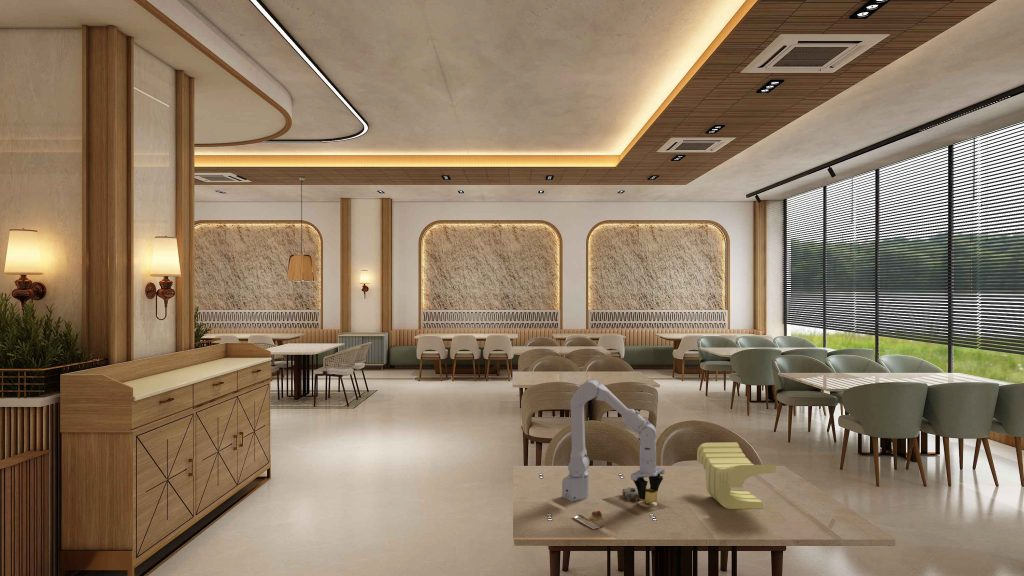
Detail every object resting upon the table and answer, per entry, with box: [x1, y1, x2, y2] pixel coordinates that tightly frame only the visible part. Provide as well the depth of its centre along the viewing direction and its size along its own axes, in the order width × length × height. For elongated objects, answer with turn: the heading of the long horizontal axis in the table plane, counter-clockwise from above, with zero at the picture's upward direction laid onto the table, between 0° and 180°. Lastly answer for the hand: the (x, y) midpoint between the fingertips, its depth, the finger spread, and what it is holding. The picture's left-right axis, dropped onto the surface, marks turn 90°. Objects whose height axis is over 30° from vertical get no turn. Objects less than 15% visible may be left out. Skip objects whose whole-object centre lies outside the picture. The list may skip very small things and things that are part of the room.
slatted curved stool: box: [696, 441, 777, 510], centre depth 217 cm, size 30×16×18 cm, turn 3°
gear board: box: [601, 487, 669, 516], centre depth 213 cm, size 15×18×5 cm
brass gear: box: [639, 487, 658, 503], centre depth 212 cm, size 5×5×4 cm
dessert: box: [571, 507, 604, 530], centre depth 199 cm, size 12×12×5 cm
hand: (647, 497), depth 212 cm, fingers closed on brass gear, 5 cm apart
